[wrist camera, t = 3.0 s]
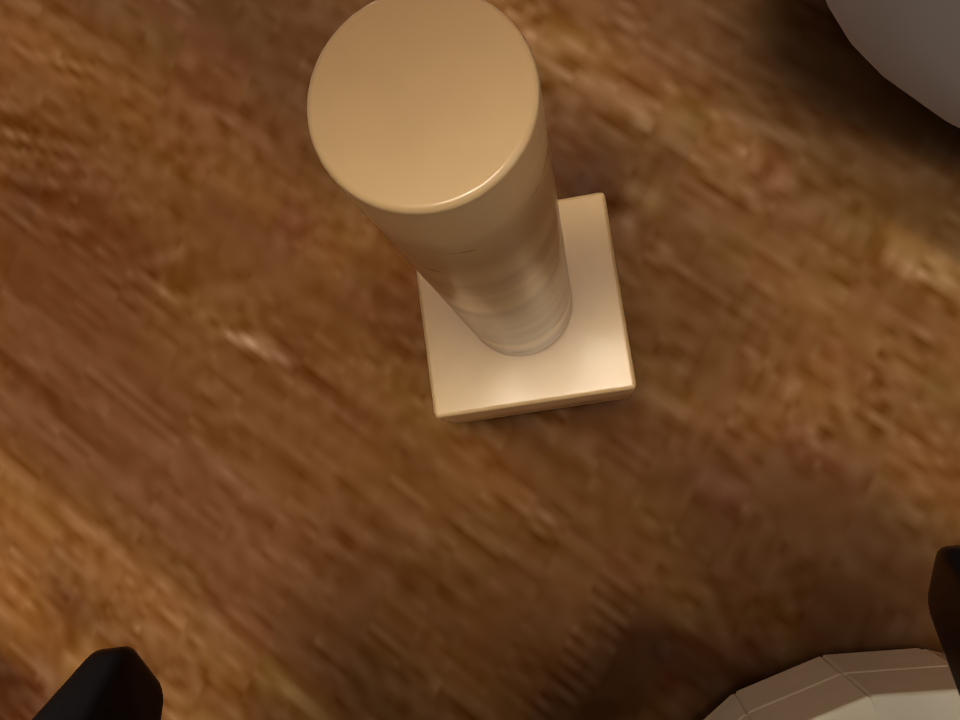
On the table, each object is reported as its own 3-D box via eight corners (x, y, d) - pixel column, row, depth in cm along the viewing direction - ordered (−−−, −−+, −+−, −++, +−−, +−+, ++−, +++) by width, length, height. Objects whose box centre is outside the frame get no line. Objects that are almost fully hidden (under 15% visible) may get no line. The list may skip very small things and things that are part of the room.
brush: (630, 401, 21) (690, 280, 7) (461, 426, 21) (224, 356, 8) (603, 236, 21) (612, -162, 8) (439, 264, 22) (184, -64, 8)
